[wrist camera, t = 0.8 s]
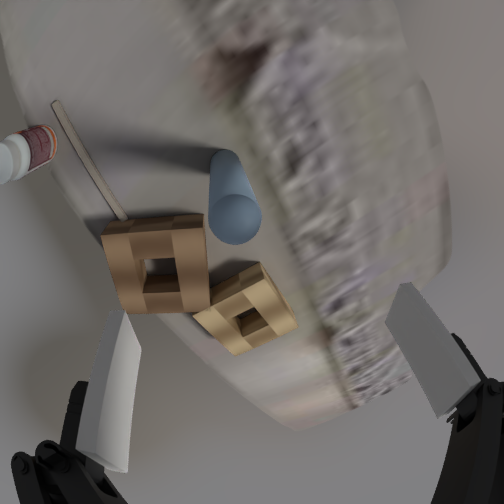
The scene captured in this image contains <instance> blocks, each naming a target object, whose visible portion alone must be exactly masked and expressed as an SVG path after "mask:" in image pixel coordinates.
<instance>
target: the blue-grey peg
mask: <svg viewBox="0 0 504 504" xmlns="http://www.w3.org/2000/svg"><path fill="white" fill-rule="evenodd" d="M261 220H262V214H261V210H260V207H259V205H258V202H257V200H256V197H255V195H254V193H253V190H252V188H251V186H250V183H249V181H248V179H247V176H246V174H245V172H244V169H243V167H242V165H241V162H240V160H239V158H238V156H237V155H236V154H235V153H234V152H233V151H230V150H220V151H218V152H217V153H215V154H214V155H213V157H212V159H211V164H210V184H209V211H208V222H209V226H210V228H211V230H212V232H213V233H214V235H215V236H216V237H217V238H218V239H220V240H221V241H223V242H225V243H227V244H232V245H238V244H243V243H246V242H248V241H249V240H251V239H252V238H253V237H254V236H255V235H256V233H257V232H258V230H259V228H260V224H261Z"/></svg>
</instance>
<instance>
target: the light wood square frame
mask: <svg viewBox="0 0 504 504" xmlns="http://www.w3.org/2000/svg"><path fill="white" fill-rule="evenodd" d="M252 307H255V308H256V310H257V311H256V312H254V313H252V314H250V315H248V316H246V317H244V318H242V319H239V318H238V317H237V315H238V314H240V313H242V312H244V311H246V310H248V309H250V308H252ZM207 309H208V310H207ZM207 309H206V310H203V311H201V312H192V316H193V317H194V318H195V319H196V320H197V321H198V322H199V323H200V324H201V325H202V326H203V327H204V328H205V329H206V330H207V331H208V332H209V333H210V334H211V335H213V336H214V337H215V338H216V339H217V340H218V341H219V342H220V343H221V344H222V345H223V346H224V347H225V348H227V349H228V350H229V351H230V352H231V353H232V354H233V355H234V356H238V355H240V354H242V353H244V352H247V351H249V350H251V349H254V348H256V347H258V346H260V345H262V344H265V343H267V342H269V341H271V340H273V339H275V338H277V337H280V336H282V335H284V334H286V333H288V332H290V331H292V330H294V329H296V328H298V324H297V321H296V319H295V316H294V313H293V310H292V309H291V307H290V306H289V304H288V303H287V301H286V300H285V298H284V297H283V295H282V294H281V292H280V291H279V289H278V288H277V287H276V285H275V284H274V282H273V281H272V279H271V278H270V276H269V275H268V273H267V272H266V270H265V269H264V267H263V266H262V264H261V263H260V262H258V263H257V264H255V265H253V266H251V267H249V268H247V269H246V270H244V271H242V272H240V273H238V274H236V275H234V276H233V277H231V278H229V279H227V280H225V281H223V282H222V283H220V284H218V285H216V286H214V287H212V288H210V308H207ZM210 310H211V311H210Z"/></svg>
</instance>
